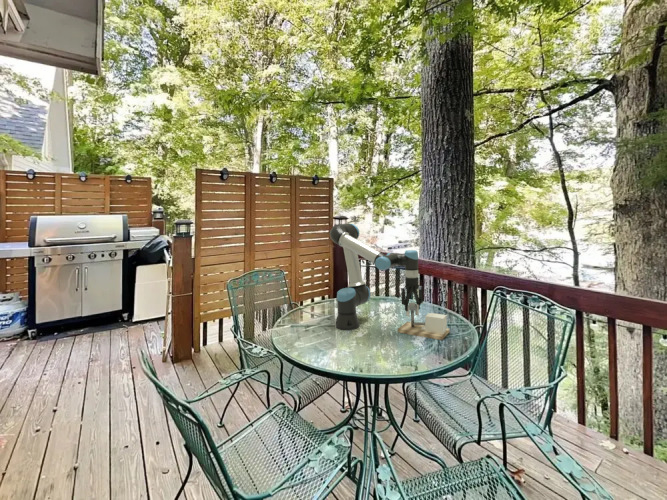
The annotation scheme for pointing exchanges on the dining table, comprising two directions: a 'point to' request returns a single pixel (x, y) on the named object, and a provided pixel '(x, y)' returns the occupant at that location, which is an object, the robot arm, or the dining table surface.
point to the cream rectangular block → (435, 323)
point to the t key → (413, 308)
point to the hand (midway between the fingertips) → (412, 315)
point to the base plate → (420, 331)
